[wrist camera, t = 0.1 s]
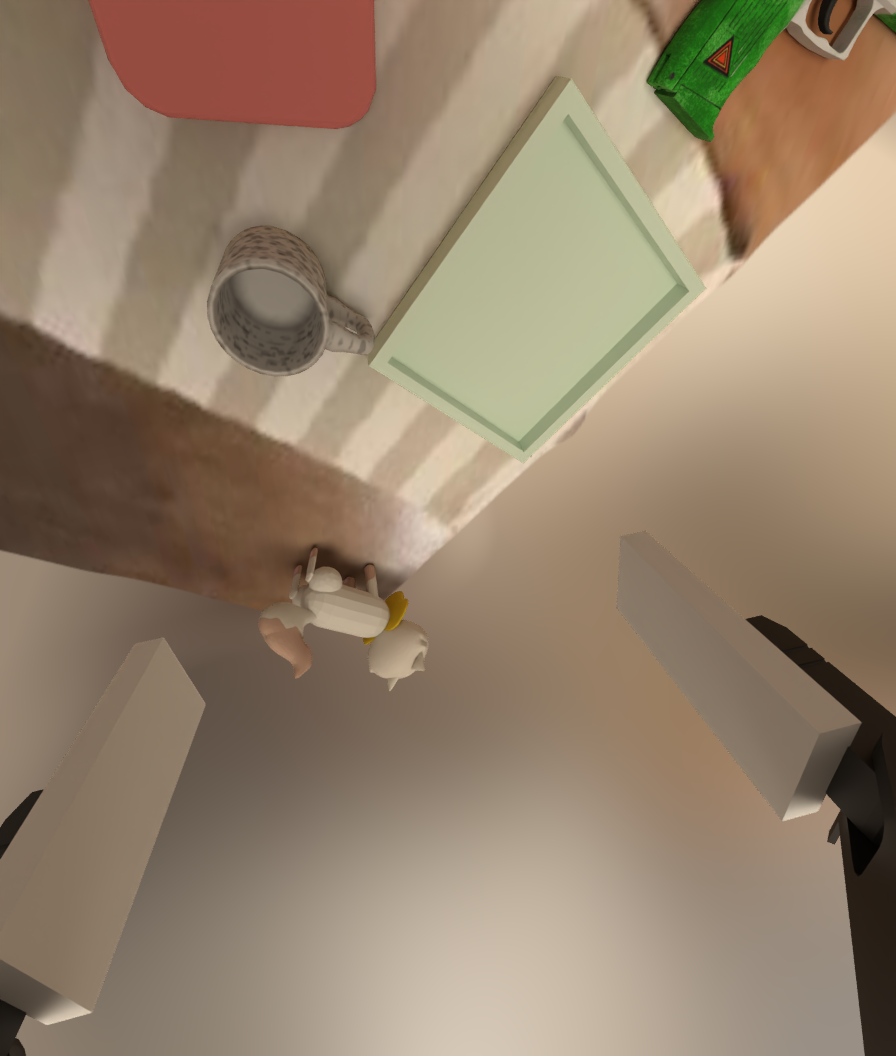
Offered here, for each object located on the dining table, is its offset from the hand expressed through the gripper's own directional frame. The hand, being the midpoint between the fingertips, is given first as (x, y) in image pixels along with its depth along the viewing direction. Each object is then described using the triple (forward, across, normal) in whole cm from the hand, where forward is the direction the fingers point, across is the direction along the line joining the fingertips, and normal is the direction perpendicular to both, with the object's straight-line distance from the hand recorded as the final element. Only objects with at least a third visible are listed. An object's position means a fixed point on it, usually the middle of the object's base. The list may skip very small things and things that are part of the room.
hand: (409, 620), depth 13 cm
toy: (+36, -9, -20) cm, 42 cm away
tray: (+28, +13, +4) cm, 31 cm away
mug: (+27, -4, +9) cm, 28 cm away
